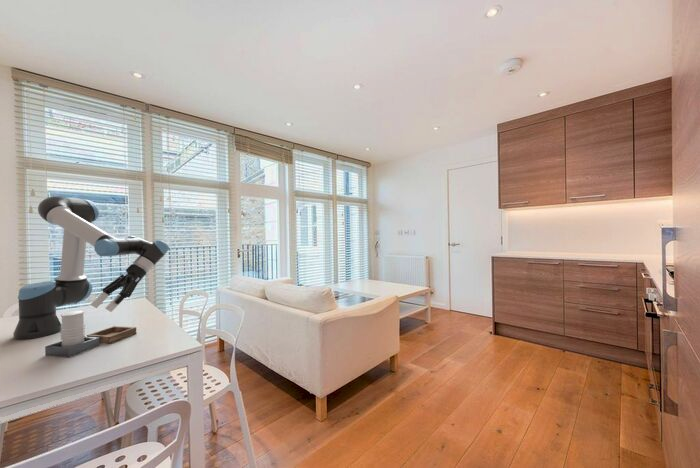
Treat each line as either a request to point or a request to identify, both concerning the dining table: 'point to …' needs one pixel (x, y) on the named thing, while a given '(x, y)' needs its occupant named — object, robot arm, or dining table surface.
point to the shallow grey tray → (71, 348)
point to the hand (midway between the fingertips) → (100, 308)
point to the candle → (72, 328)
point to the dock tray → (113, 334)
